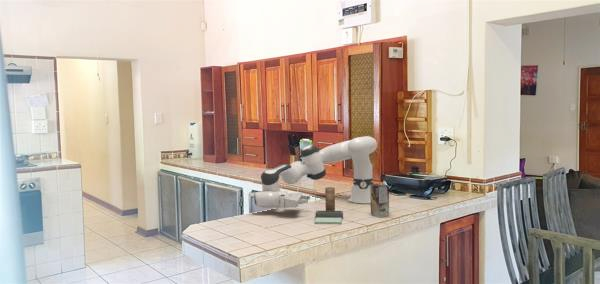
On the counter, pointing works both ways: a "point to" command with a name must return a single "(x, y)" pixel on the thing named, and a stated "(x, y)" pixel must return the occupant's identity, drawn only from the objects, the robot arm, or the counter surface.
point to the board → (328, 220)
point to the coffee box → (379, 200)
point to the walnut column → (330, 198)
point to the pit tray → (329, 214)
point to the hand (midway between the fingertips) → (309, 199)
